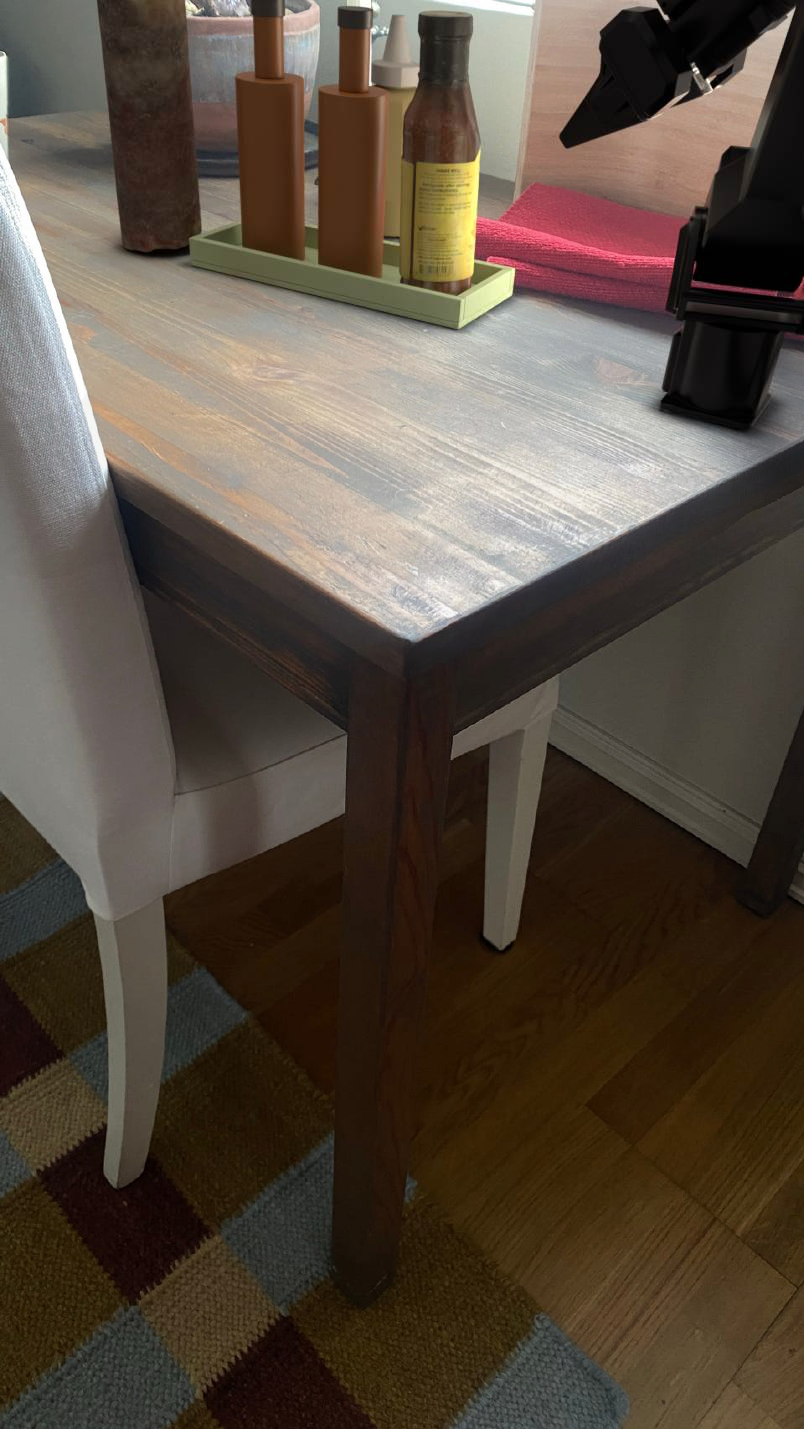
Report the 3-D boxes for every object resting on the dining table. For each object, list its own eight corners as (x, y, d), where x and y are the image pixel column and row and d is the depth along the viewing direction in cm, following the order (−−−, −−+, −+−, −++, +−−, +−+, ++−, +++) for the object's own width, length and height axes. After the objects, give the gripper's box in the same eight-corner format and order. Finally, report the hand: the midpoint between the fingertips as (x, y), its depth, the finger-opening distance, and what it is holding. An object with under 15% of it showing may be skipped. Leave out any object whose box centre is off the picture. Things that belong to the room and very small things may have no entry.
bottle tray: (512, 295, 90) (544, 23, 78) (458, 329, 83) (484, 35, 70) (259, 238, 100) (251, -14, 87) (190, 265, 92) (170, -7, 80)
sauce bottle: (485, 297, 88) (514, 16, 76) (435, 312, 85) (456, 20, 72) (430, 277, 92) (448, 6, 79) (379, 290, 88) (389, 9, 75)
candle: (140, 230, 100) (114, -25, 87) (214, 238, 99) (199, -18, 86) (109, 252, 94) (77, -18, 81) (187, 260, 93) (167, -10, 80)
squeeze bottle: (357, 216, 108) (363, 7, 96) (434, 224, 107) (449, 14, 95) (341, 237, 101) (344, 16, 90) (422, 245, 101) (436, 24, 89)
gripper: (744, -146, 72) (572, 25, 83) (662, -157, 60) (471, 47, 70) (823, 2, 75) (646, 150, 86) (761, 23, 62) (561, 193, 73)
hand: (585, 133), depth 78 cm, fingers open, 9 cm apart
